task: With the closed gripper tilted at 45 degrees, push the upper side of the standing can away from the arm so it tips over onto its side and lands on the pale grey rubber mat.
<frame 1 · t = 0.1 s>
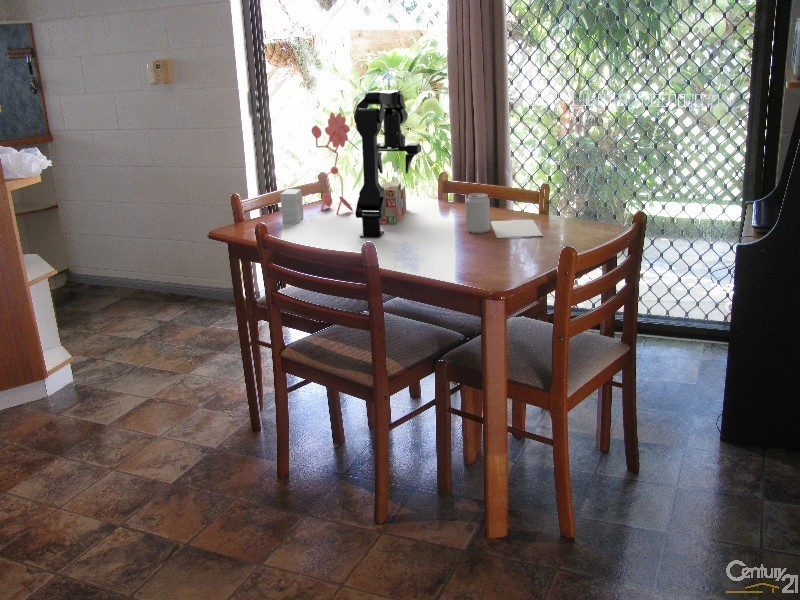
hand: (394, 173, 280), 15 cm above the table, tool pointing down, fingers open, 9 cm apart
small box: (293, 221, 283), on the table
figurine: (343, 209, 297), on the table
mat: (515, 229, 259), on the table
can: (478, 231, 259), on the table
stack of blocks: (393, 217, 283), on the table
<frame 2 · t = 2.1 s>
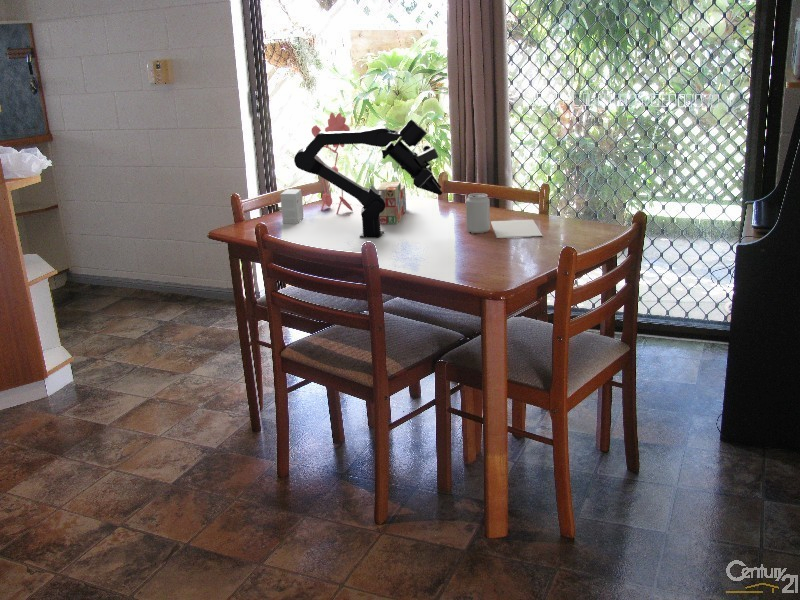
hand: (440, 191, 255), 13 cm above the table, tool tilted 45°, fingers open, 8 cm apart
nothing on the table moved.
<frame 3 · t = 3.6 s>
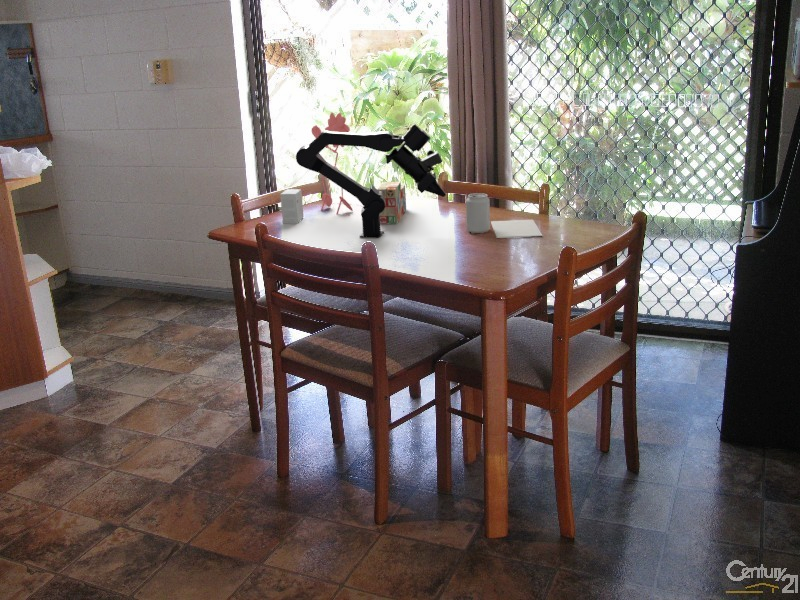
hand: (444, 195, 255), 12 cm above the table, tool tilted 45°, fingers closed
nothing on the table moved.
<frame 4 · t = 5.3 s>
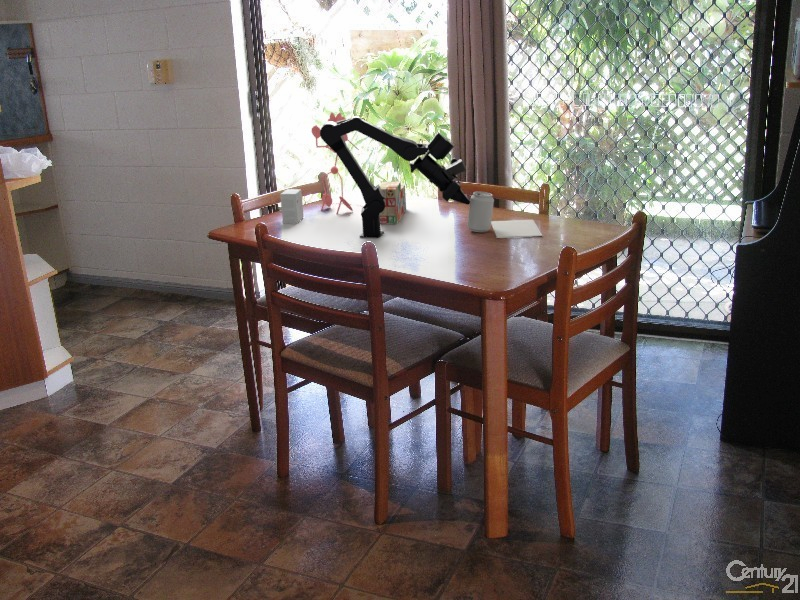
hand: (469, 203, 256), 9 cm above the table, tool tilted 45°, fingers closed
can: (478, 230, 259), on the table, touching gripper
everything else where it was.
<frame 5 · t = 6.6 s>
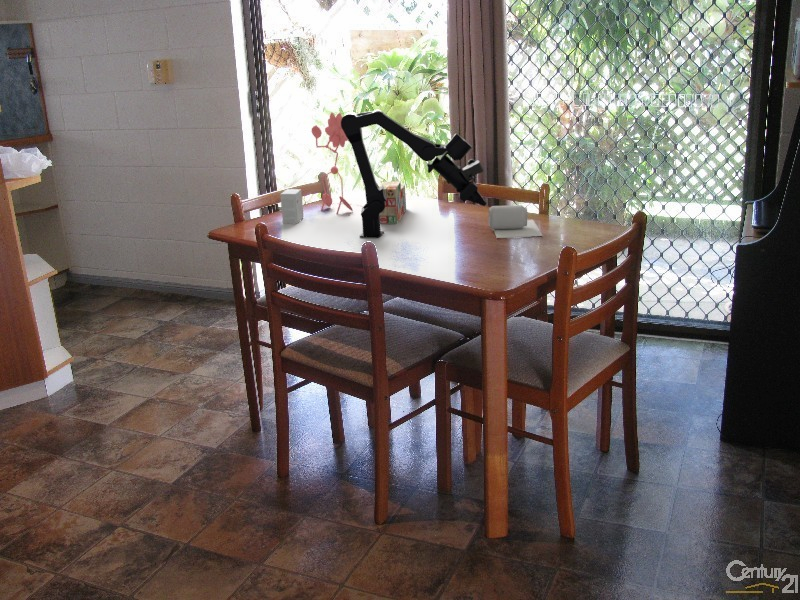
hand: (485, 204, 256), 9 cm above the table, tool tilted 45°, fingers closed
can: (488, 217, 257), point 4 cm above the table, touching mat
everything else where it was.
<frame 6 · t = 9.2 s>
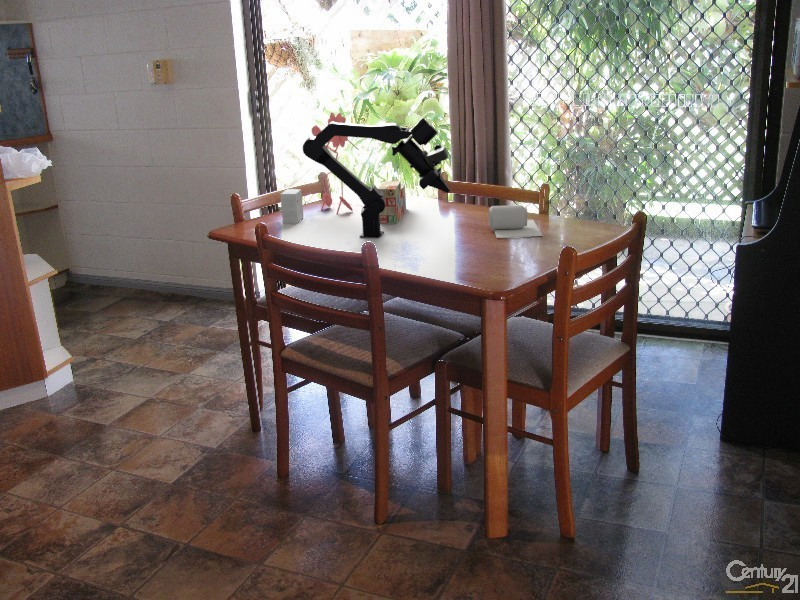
hand: (448, 191, 255), 13 cm above the table, tool tilted 40°, fingers closed
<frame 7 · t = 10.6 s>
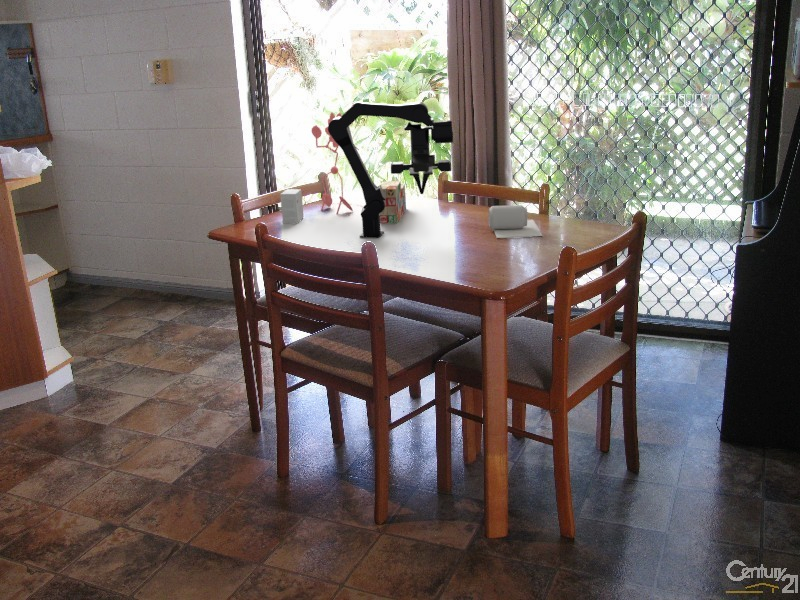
hand: (421, 193, 255), 13 cm above the table, tool pointing down, fingers closed
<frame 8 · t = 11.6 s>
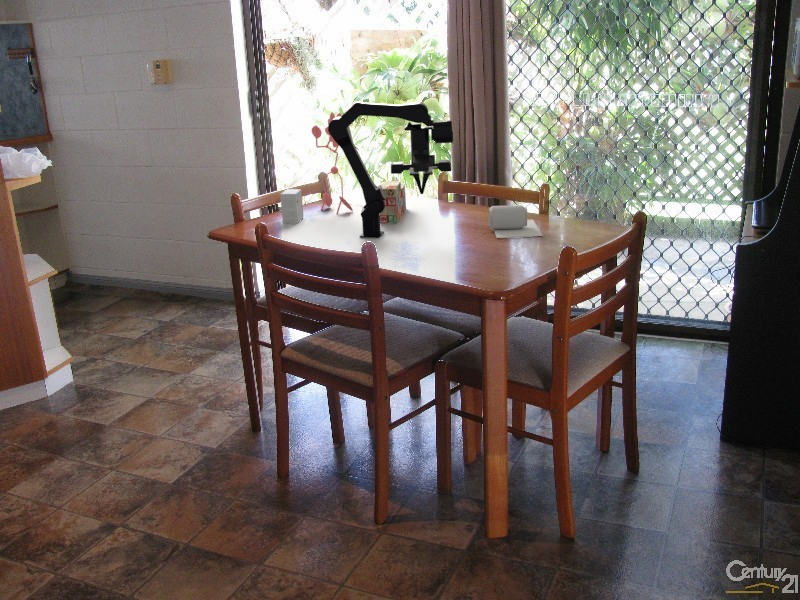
hand: (421, 193, 255), 13 cm above the table, tool pointing down, fingers closed
at the end: can tilted 90°; can touching mat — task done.
